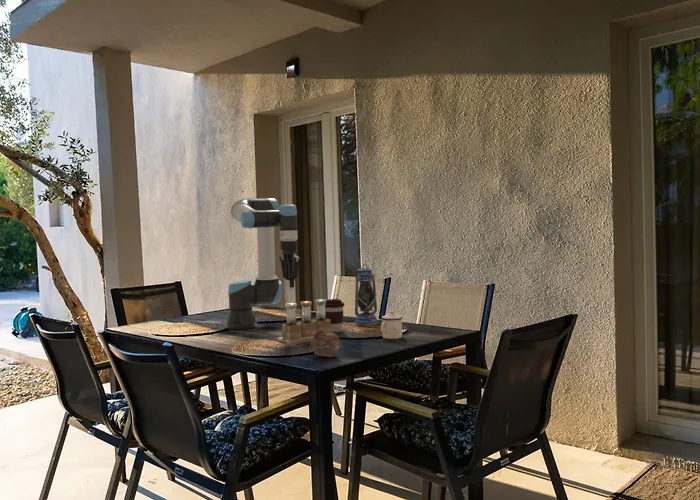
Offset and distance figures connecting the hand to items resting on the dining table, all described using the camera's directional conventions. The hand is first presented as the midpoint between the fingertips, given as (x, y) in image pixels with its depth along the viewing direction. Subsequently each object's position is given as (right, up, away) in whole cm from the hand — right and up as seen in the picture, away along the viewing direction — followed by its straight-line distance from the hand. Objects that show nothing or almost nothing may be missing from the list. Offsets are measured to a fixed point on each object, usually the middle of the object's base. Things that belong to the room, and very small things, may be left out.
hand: (290, 294), depth 262 cm
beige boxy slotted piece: (+7, -20, +6) cm, 22 cm away
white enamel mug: (+43, -19, +4) cm, 48 cm away
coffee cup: (+18, -19, +23) cm, 35 cm away
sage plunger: (+13, -13, +11) cm, 21 cm away
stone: (+18, -21, -30) cm, 41 cm away
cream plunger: (0, -14, +1) cm, 14 cm away
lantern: (+34, -18, +44) cm, 58 cm away
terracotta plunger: (+7, -14, +6) cm, 16 cm away
